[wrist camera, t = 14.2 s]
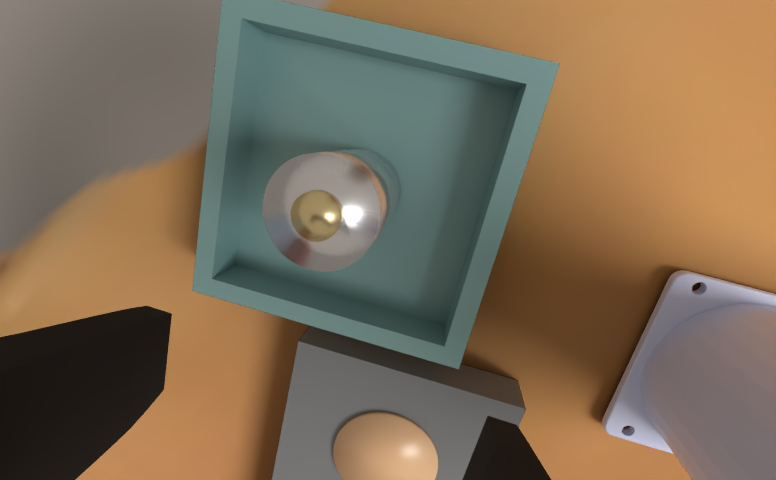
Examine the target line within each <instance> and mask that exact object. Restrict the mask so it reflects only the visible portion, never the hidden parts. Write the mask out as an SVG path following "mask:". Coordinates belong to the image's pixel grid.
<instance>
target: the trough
mask: <svg viewBox="0 0 776 480" xmlns="http://www.w3.org/2000/svg"><path fill="white" fill-rule="evenodd" d="M559 65H560V63H555V62H551V61H546V60H542V59H537V58H533V57H529V56H524V55H520V54H515V53H511V52H506V51H502V50H497V49H493V48H488V47H484V46H479V45H475V44H471V43H466V42H462V41H457V40H453V39H448V38H444V37H439V36H435V35H430V34H426V33H422V32H417V31H413V30H408V29H404V28H399V27H395V26H390V25H386V24H381V23H377V22H372V21H368V20H364V19H359V18H355V17H350V16H346V15H341V14H337V13H332V12H328V11H323V10H319V9H314V8H309V7H305V6H301V5H296V4H292V3H287V2H283V1H279V0H222V1H221V11H220V22H219V31H218V40H217V50H216V60H215V70H214V81H213V90H212V101H211V110H210V120H209V130H208V140H207V150H206V160H205V170H204V180H203V190H202V200H201V209H200V219H199V229H198V239H197V249H196V259H195V269H194V279H193V289H192V291H194V292H198V293H201V294H205V295H208V296H211V297H215V298H218V299H222V300H225V301H228V302H232V303H235V304H239V305H242V306H245V307H249V308H252V309H256V310H259V311H262V312H266V313H269V314H273V315H276V316H279V317H283V318H286V319H290V320H293V321H296V322H300V323H303V324H307V325H310V326H313V327H317V328H320V329H323V330H327V331H330V332H334V333H337V334H340V335H344V336H347V337H351V338H354V339H357V340H361V341H364V342H368V343H371V344H374V345H378V346H381V347H385V348H388V349H391V350H395V351H398V352H402V353H405V354H408V355H412V356H415V357H419V358H422V359H425V360H429V361H432V362H436V363H439V364H442V365H446V366H449V367H453V368H456V369H459V367H460V364H461V361H462V358H463V355H464V352H465V349H466V346H467V343H468V340H469V337H470V334H471V331H472V328H473V325H474V322H475V319H476V316H477V313H478V309H479V306H480V303H481V300H482V297H483V294H484V291H485V288H486V285H487V282H488V279H489V276H490V273H491V270H492V267H493V264H494V261H495V258H496V255H497V252H498V249H499V246H500V243H501V240H502V237H503V234H504V231H505V228H506V225H507V222H508V219H509V216H510V213H511V210H512V207H513V204H514V201H515V198H516V195H517V192H518V189H519V186H520V183H521V180H522V177H523V174H524V171H525V168H526V165H527V162H528V159H529V156H530V153H531V149H532V146H533V143H534V140H535V137H536V134H537V131H538V128H539V125H540V122H541V119H542V116H543V113H544V110H545V107H546V104H547V101H548V98H549V95H550V92H551V89H552V86H553V83H554V80H555V77H556V74H557V71H558V68H559ZM348 149H368V150H372V151H375V152H377V153H379V154H381V155H382V156H384V157H385V158H386V159H387V160H388V161H389V162H390V163H391V164H392V165H393V167H394V168H395V170H396V172H397V174H398V177H399V180H400V185H401V197H400V201H399V205H398V207H397V209H396V211H395V213H394V214H393V215H392V217H391V218H390V220H389V221H388V222H387V224H386V225H385V227H384V228H383V229H382V231H381V232H380V234H379V235H378V236H377V238H376V239H375V241H374V242H373V243H372V245H371V246H370V248H369V249H368V250H367V252H366V253H365V254H364V255H363V256H362V257H361V258H360V259H359V260H357V261H356V262H355V263H353V264H351V265H349V266H347V267H345V268H342V269H339V270H335V271H315V270H310V269H306V268H303V267H301V266H299V265H297V264H295V263H293V262H292V261H290V260H289V259H288V258H286V257H285V256H284V255H283V254H282V253H281V252H280V251H279V250H278V249H277V248H276V246H275V245H274V244H273V242H272V240H271V239H270V237H269V235H268V233H267V230H266V227H265V224H264V219H263V211H262V205H263V197H264V192H265V189H266V186H267V184H268V182H269V180H270V178H271V177H272V175H273V174H274V173H275V172H276V170H277V169H278V168H279V167H280V166H282V165H283V164H284V163H285V162H287V161H289V160H290V159H292V158H294V157H297V156H299V155H303V154H308V153H317V152H327V151H338V150H348Z"/></svg>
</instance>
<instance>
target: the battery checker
mask: <svg viewBox="0 0 776 480" xmlns="http://www.w3.org/2000/svg"><path fill="white" fill-rule="evenodd" d="M525 409H526V408H525V405H524V401H523V398H522V394H521V390H520V387H519V383H518V380H514V379H511V378H507V377H504V376H500V375H497V374H494V373H490V372H487V371H483V370H480V369H477V368H473V367H470V366H466V365H463V364H460V367H459V369H456V368H453V367H449V366H446V365H442V364H439V363H436V362H432V361H429V360H425V359H422V358H419V357H415V356H412V355H408V354H405V353H402V352H398V351H395V350H391V349H388V348H385V347H381V346H378V345H374V344H371V343H368V342H364V341H361V340H357V339H354V338H351V337H347V336H344V335H340V334H337V333H334V332H330V331H327V330H323V329H320V328H317V327H313V326H309V328H308V329H307V330H306V332H305V333H304V334H303V336H302V337H301V338H300V340H299V341H298V346H297V351H296V356H295V362H294V367H293V372H292V377H291V382H290V388H289V393H288V398H287V403H286V408H285V414H284V419H283V424H282V429H281V434H280V440H279V445H278V450H277V455H276V461H275V466H274V471H273V476H272V480H462V479H463V477H464V474H465V472H466V469H467V467H468V464H469V462H470V459H471V456H472V454H473V451H474V449H475V446H476V444H477V441H478V439H479V436H480V434H481V431H482V428H483V426H484V423H485V421H486V418H487V416H491V417H494V418H497V419H500V420H503V421H506V422H509V423H512V424H516V425H517V426H518V427H519V424H520V422H521V419H522V417H523V414H524V412H525Z"/></svg>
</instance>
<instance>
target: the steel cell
mask: <svg viewBox="0 0 776 480" xmlns="http://www.w3.org/2000/svg"><path fill="white" fill-rule="evenodd" d="M400 197H401V185H400V180H399V177H398V174H397V172H396V170H395V168H394V167H393V165H392V164H391V163H390V162H389V161H388V160H387V159H386V158H385V157H384V156H382V155H381V154H379V153H377V152H375V151H372V150H368V149H348V150H338V151H327V152H317V153H308V154H303V155H299V156H297V157H294V158H292V159H290V160H289V161H287V162H285V163H284V164H283V165H282V166H280V167H279V168H278V169H277V170H276V172H275V173H274V174H273V175H272V177H271V178H270V180H269V182H268V184H267V186H266V189H265V192H264V197H263V205H262V211H263V219H264V224H265V227H266V230H267V233H268V235H269V237H270V239H271V240H272V242H273V244H274V245H275V246H276V248H277V249H278V250H279V251H280V252H281V253H282V254H283V255H284V256H285V257H286V258H288V259H289V260H290V261H292V262H293V263H295V264H297V265H299V266H301V267H303V268H306V269H310V270H315V271H335V270H339V269H342V268H345V267H347V266H349V265H351V264H353V263H355V262H356V261H357V260H359V259H360V258H361V257H362V256H363V255H364V254H365V253H366V252H367V250H368V249H369V248H370V246H371V245H372V243H373V242H374V241H375V239H376V238H377V236H378V235H379V234H380V232H381V231H382V229H383V228H384V227H385V225H386V224H387V222H388V221H389V220H390V218H391V217H392V215H393V214H394V213H395V211H396V209H397V207H398V205H399V201H400Z"/></svg>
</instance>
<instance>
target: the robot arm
mask: <svg viewBox="0 0 776 480" xmlns="http://www.w3.org/2000/svg"><path fill="white" fill-rule="evenodd" d="M698 282H700V283H701V285H700V288H699V289H698V290H695V291H692V286H693V285H694V284H696V283H698ZM171 316H172V314H171V313H168V312H165V311H161V310H158V309H155V308H152V307H149V306H143V307H136V308H130V309H125V310H120V311H116V312H111V313H106V314H102V315H97V316H93V317H89V318H84V319H80V320H76V321H71V322H67V323H63V324H58V325H54V326H50V327H45V328H41V329H37V330H32V331H28V332H23V333H19V334H14V335H9V336H4V337H0V480H75V479H76V478H78V477H79V476H80V475H81V474H82V473H83V472H84V471H85V470H86V469H87V468H89V467H90V466H91V465H92V464H93V463H94V462H95V461H96V460H97V459H98V458H99V457H100V456H102V455H103V454H104V453H105V452H106V451H107V450H108V449H109V448H110V447H111V446H112V445H113V444H114V443H116V442H117V441H118V440H119V439H120V438H121V437H122V436H123V435H124V434H125V433H126V432H127V431H128V430H129V429H130V428H131V427H132V426H133V425H134V424H135V423H136V421H137V420H138V419H139V418H140V417H141V416H142V415H143V414H144V413H145V411H146V410H147V409H148V408H149V407H150V405H151V404H152V403H153V402H154V401H155V399H156V398H157V397H158V396H159V395H160V394H161V392H162V391H163V390H164V383H165V373H166V363H167V354H168V344H169V335H170V325H171ZM602 425H603V427H604V429H605V431H606V432H607V433H608V434H610V435H612V436H615V437H619V438H622V439H625V440H629V441H632V442H635V443H639V444H642V445H645V446H649V447H652V448H655V449H659V450H662V451H665V452H669V453H672V454H674V455H675V456H676V458H677V459H678V460H679V462H680V463H681V465H682V466H683V467H684V469H685V470H686V472H687V473H688V475H689V476H690V477H691V479H692V480H776V294H774V293H771V292H767V291H763V290H759V289H755V288H751V287H748V286H744V285H740V284H736V283H732V282H728V281H725V280H721V279H717V278H713V277H709V276H705V275H702V274H698V273H694V272H690V271H685V270H681V271H677V272H675V273H673V274H672V275H671V276H670V277H669V279H668V281H667V283H666V285H665V287H664V290H663V292H662V294H661V296H660V298H659V300H658V302H657V304H656V306H655V309H654V311H653V313H652V315H651V317H650V319H649V321H648V323H647V326H646V328H645V330H644V332H643V334H642V336H641V338H640V340H639V342H638V345H637V347H636V349H635V351H634V353H633V355H632V357H631V359H630V362H629V364H628V366H627V368H626V370H625V372H624V374H623V376H622V379H621V381H620V383H619V385H618V387H617V389H616V391H615V393H614V395H613V398H612V400H611V402H610V404H609V406H608V408H607V410H606V412H605V415H604V417H603V419H602ZM625 426H630V427H629V428H628V429H623V427H625ZM462 480H551V479H550V477H549V475H548V474H547V472H546V471H545V469H544V467H543V466H542V464H541V463H540V461H539V459H538V458H537V456H536V455H535V453H534V451H533V450H532V448H531V446H530V445H529V443H528V442H527V440H526V438H525V437H524V435H523V434H522V432H521V431H520V429H519V428H518V426H517V425H516V424H512V423H509V422H506V421H503V420H500V419H497V418H494V417H491V416H487V418H486V421H485V423H484V426H483V428H482V431H481V434H480V436H479V439H478V441H477V444H476V446H475V449H474V451H473V454H472V456H471V459H470V462H469V464H468V467H467V469H466V472H465V474H464V477H463V479H462Z"/></svg>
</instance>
